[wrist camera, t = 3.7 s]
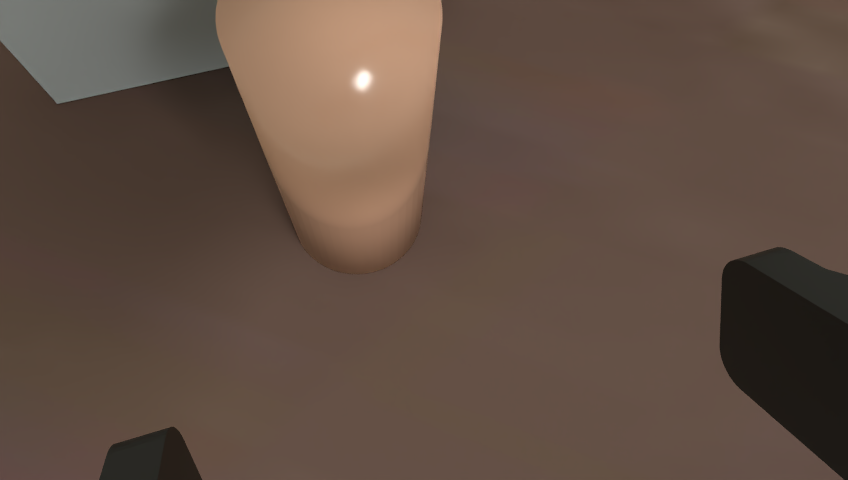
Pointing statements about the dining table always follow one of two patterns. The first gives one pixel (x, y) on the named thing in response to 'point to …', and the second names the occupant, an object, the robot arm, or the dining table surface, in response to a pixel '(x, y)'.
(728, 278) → the robot arm
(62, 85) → the low wall
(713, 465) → the dining table surface
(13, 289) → the dining table surface
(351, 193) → the peach rounded cylinder
